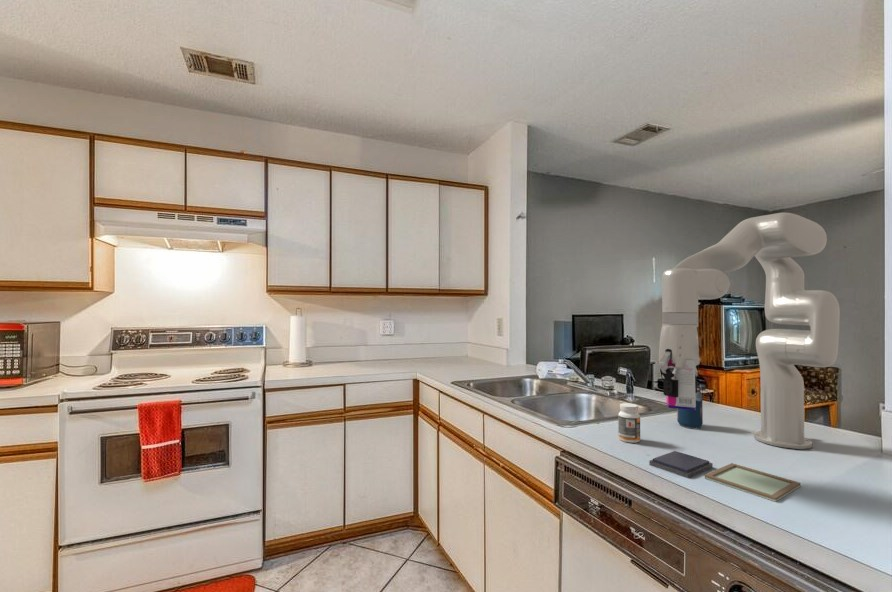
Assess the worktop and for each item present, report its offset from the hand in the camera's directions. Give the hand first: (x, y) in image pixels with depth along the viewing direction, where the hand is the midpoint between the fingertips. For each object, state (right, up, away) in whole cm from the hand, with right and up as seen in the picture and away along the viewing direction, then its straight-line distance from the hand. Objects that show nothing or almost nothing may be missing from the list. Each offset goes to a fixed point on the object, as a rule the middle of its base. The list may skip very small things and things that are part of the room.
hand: (680, 393), depth 99 cm
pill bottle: (-4, -18, +19) cm, 26 cm away
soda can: (+21, -18, +33) cm, 43 cm away
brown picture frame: (+10, -17, -9) cm, 22 cm away
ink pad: (0, -17, 0) cm, 17 cm away
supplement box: (0, -3, 0) cm, 3 cm away
